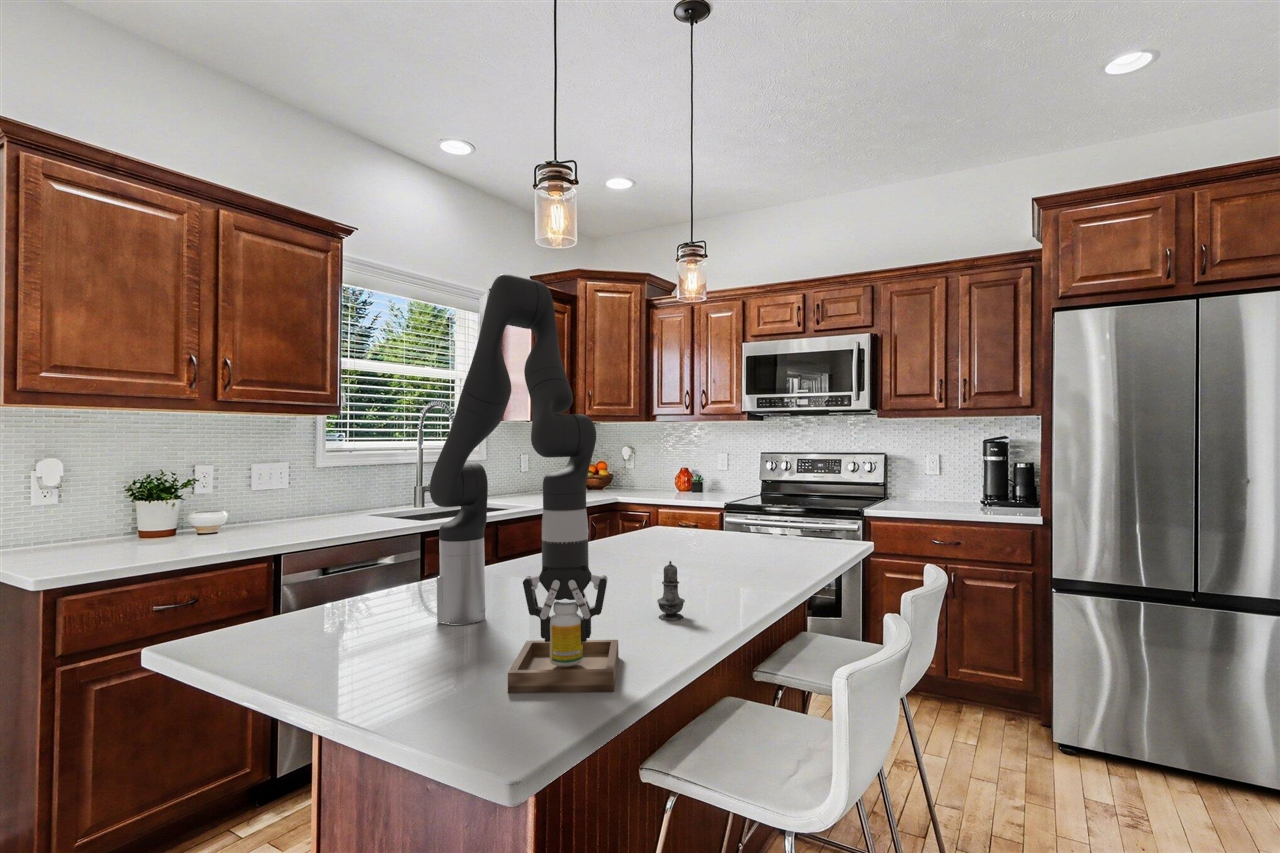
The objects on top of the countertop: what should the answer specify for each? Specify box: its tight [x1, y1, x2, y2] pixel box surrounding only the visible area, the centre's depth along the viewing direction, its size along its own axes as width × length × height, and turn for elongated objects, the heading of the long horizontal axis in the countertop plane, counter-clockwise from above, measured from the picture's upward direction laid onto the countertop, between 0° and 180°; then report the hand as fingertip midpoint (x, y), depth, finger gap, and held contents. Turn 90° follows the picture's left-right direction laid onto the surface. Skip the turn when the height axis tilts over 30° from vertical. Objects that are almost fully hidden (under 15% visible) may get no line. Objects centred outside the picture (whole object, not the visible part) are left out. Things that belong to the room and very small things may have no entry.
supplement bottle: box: [549, 599, 583, 667], centre depth 111 cm, size 5×5×10 cm
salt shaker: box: [656, 560, 686, 622], centre depth 143 cm, size 6×6×12 cm
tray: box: [507, 639, 619, 694], centre depth 111 cm, size 16×16×3 cm
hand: (566, 640), depth 111 cm, fingers closed on supplement bottle, 5 cm apart
